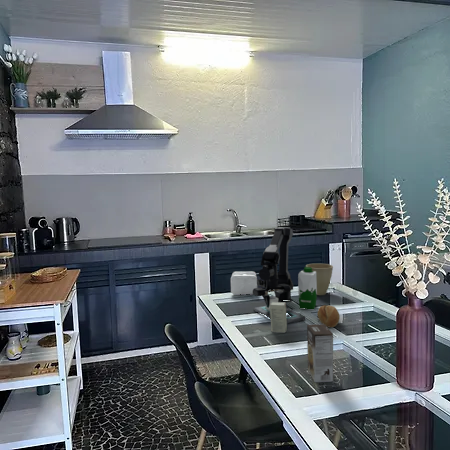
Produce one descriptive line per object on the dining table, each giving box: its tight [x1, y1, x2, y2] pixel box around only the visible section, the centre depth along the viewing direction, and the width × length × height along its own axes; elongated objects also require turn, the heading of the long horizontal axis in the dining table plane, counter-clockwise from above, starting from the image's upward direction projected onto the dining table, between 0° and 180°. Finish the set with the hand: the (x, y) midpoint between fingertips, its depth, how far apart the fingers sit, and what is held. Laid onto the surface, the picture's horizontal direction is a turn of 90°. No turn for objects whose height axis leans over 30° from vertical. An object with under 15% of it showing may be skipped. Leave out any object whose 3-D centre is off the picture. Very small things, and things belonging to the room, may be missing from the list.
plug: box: [265, 295, 278, 311], centre depth 206 cm, size 4×4×8 cm
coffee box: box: [306, 323, 334, 383], centre depth 137 cm, size 9×6×16 cm
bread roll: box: [316, 305, 341, 328], centre depth 187 cm, size 10×15×8 cm, turn 174°
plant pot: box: [305, 263, 334, 296], centre depth 236 cm, size 15×15×16 cm
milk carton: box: [297, 266, 318, 310], centre depth 211 cm, size 9×9×20 cm
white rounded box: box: [230, 271, 258, 296], centre depth 242 cm, size 15×11×12 cm
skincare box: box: [270, 301, 288, 333], centre depth 180 cm, size 6×4×12 cm
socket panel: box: [253, 305, 306, 324], centre depth 201 cm, size 14×24×2 cm, turn 24°
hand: (272, 306), depth 206 cm, fingers closed on plug, 4 cm apart
